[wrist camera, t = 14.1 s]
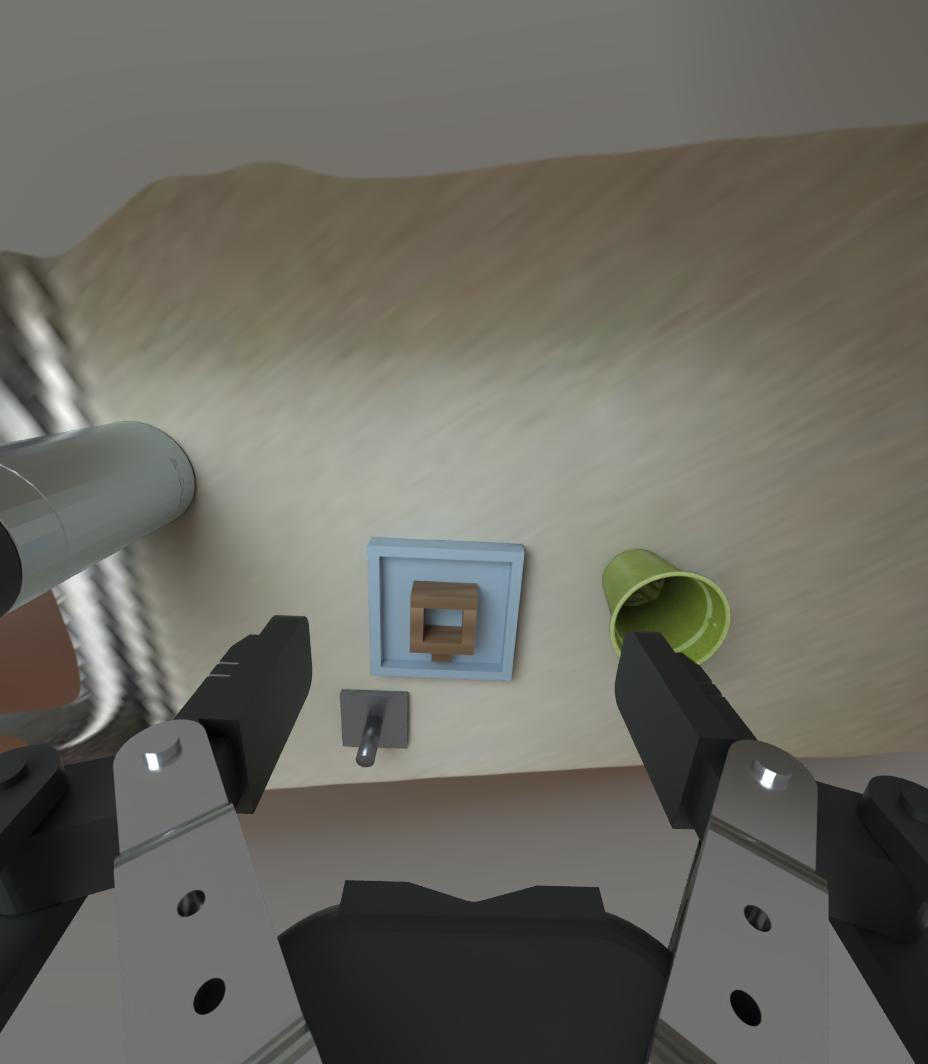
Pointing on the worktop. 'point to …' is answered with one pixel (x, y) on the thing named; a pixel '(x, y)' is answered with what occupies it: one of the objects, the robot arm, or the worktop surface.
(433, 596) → the brown hollow rectangular frame
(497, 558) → the tray
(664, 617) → the plant pot
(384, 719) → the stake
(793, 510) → the worktop surface
